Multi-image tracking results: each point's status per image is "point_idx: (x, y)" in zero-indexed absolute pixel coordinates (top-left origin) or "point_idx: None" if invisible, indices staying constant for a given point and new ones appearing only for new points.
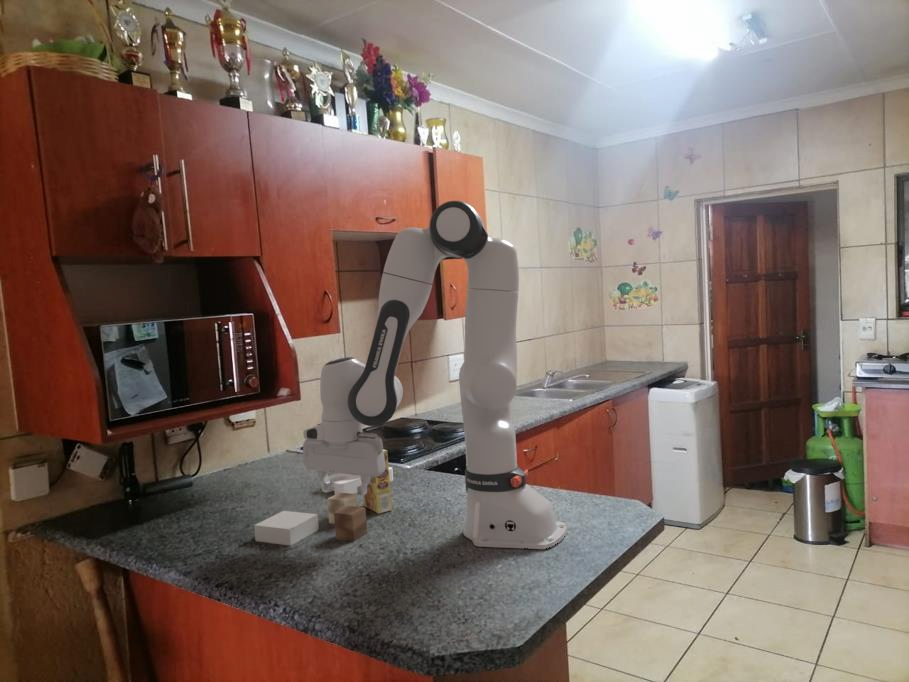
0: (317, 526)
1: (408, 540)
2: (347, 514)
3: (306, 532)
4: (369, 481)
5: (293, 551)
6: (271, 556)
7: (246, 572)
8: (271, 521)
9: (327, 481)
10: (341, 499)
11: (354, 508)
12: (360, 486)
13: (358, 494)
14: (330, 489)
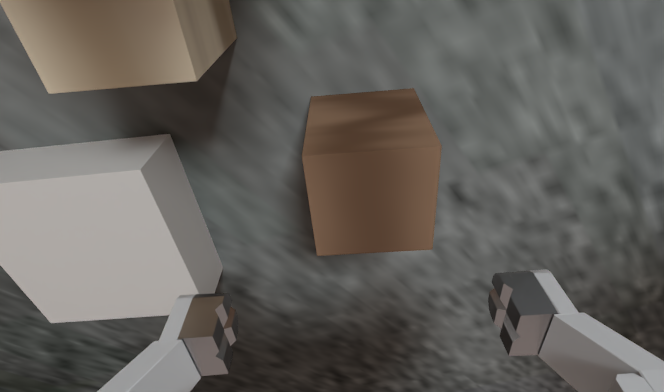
0: (166, 148)
1: (652, 87)
2: (401, 249)
3: (192, 211)
4: (630, 344)
5: (271, 290)
6: (244, 323)
7: (272, 379)
8: (61, 287)
9: (188, 358)
10: (157, 70)
11: (382, 178)
12: (545, 361)
13: (491, 302)
14: (230, 306)
